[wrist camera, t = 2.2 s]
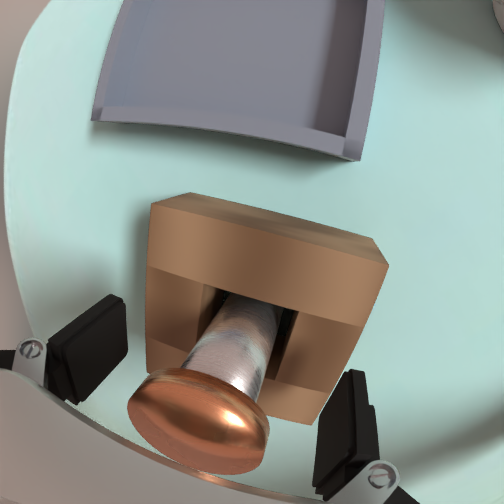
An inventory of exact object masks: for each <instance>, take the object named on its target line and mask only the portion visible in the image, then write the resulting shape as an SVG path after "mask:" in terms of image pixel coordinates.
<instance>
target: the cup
mask: <svg viewBox="0 0 504 504" xmlns="http://www.w3.org/2000/svg"><path fill="white" fill-rule="evenodd" d="M493 9H494V13H495V17H496V19H497V21H498V23H499V26H500V28H501V29H502V31H503V33H504V0H493Z"/></svg>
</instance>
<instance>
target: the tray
mask: <svg viewBox="0 0 504 504" xmlns="http://www.w3.org/2000/svg"><path fill="white" fill-rule="evenodd" d="M384 6H385V0H124V1H123V4H122V7H121V9H120V12H119V14H118V17H117V20H116V23H115V26H114V29H113V32H112V35H111V38H110V41H109V44H108V47H107V51H106V54H105V58H104V62H103V65H102V69H101V73H100V77H99V81H98V86H97V90H96V95H95V100H94V105H93V111H92V116H91V121H102V122H114V123H133V124H148V125H161V126H172V127H182V128H190V129H199V130H206V131H214V132H220V133H227V134H233V135H239V136H245V137H251V138H256V139H262V140H267V141H272V142H277V143H281V144H286V145H291V146H295V147H299V148H304V149H308V150H312V151H316V152H320V153H324V154H328V155H331V156H335V157H339V158H342V159H346V160H350V161H353V162H354V161H360V159H361V155H362V150H363V146H364V141H365V136H366V132H367V127H368V122H369V116H370V111H371V106H372V100H373V94H374V88H375V82H376V76H377V69H378V62H379V54H380V46H381V38H382V29H383V18H384Z"/></svg>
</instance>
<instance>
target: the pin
mask: <svg viewBox="0 0 504 504" xmlns="http://www.w3.org/2000/svg"><path fill="white" fill-rule="evenodd" d="M283 309H284V307H282V306H278V305H275V304H271V303H267V302H264V301H260V300H257V299H253V298H250V297H247V296H243V295H240V294H236V293H233V292H231V293H230V295H229V296H228V298H227V299H226V301H225V302H224V304H223V305H222V307H221V308H220V310H219V311H218V313H217V314H216V316H215V317H214V318H213V320H212V321H211V323H210V324H209V326H208V327H207V329H206V330H205V332H204V333H203V335H202V336H201V338H200V339H199V340H198V342H197V343H196V345H195V346H194V348H193V349H192V351H191V352H190V354H189V355H188V357H187V358H186V359H185V361H184V362H183V364H182V365H181V367H180V368H164V369H160V370H157V371H154V372H152V373H151V374H150V375H148V376H147V378H146V379H145V380H144V381H143V383H142V384H141V385H140V386H139V388H138V389H137V390H136V391H135V393H134V394H133V395H132V396H131V398H130V399H129V401H128V406H127V409H128V415H129V418H130V420H131V422H132V424H133V425H134V427H135V428H136V430H137V431H138V432H139V434H140V435H141V436H142V437H143V438H144V439H145V440H146V441H147V442H148V443H149V444H151V445H152V446H153V447H154V448H155V449H157V450H158V451H160V452H161V453H163V454H164V455H166V456H167V457H169V458H171V459H173V460H175V461H177V462H179V463H181V464H183V465H185V466H188V467H191V468H193V469H196V470H200V471H204V472H208V473H214V474H222V475H235V474H242V473H246V472H249V471H251V470H253V469H255V468H256V467H258V466H259V465H260V463H261V462H262V459H263V456H264V452H265V448H266V444H267V441H268V437H269V431H270V427H269V422H268V420H267V417H266V415H265V414H264V412H263V411H262V409H261V408H260V407H259V406H258V405H257V404H256V402H257V399H258V395H259V392H260V389H261V386H262V382H263V379H264V376H265V373H266V369H267V366H268V362H269V359H270V356H271V352H272V349H273V345H274V342H275V338H276V335H277V331H278V328H279V324H280V320H281V317H282V313H283Z"/></svg>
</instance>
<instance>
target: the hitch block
mask: <svg viewBox="0 0 504 504" xmlns="http://www.w3.org/2000/svg"><path fill="white" fill-rule="evenodd" d="M388 268H389V264H388V263H387V261H386V259H385V258H384V256H383V255H382V253H381V251H380V250H379V248H378V247H377V245H376V244H375V242H374V241H373V239H372V238H369V237H365V236H362V235H358V234H355V233H351V232H348V231H344V230H341V229H337V228H334V227H330V226H326V225H323V224H319V223H315V222H311V221H308V220H304V219H300V218H296V217H292V216H289V215H285V214H281V213H277V212H273V211H269V210H265V209H261V208H257V207H252V206H248V205H244V204H240V203H236V202H231V201H227V200H223V199H218V198H214V197H209V196H205V195H200V194H196V193H191V192H190V193H186V194H182V195H179V196H175V197H172V198H168V199H165V200H161V201H158V202H155V203H151V212H150V223H149V235H148V249H147V267H146V295H145V340H146V368H147V373H149V374H151V373H152V372H154V371H157V370H160V369H164V368H180V367H181V365H182V364H183V362H184V361H185V359H186V358H187V357H188V355H189V354H190V352H191V351H192V349H193V348H194V346H195V345H196V343H197V342H198V340H199V339H200V338H201V336H202V335H203V333H204V332H205V330H206V329H207V327H208V326H209V324H210V323H211V321H212V320H213V318H214V317H215V316H216V314H217V313H218V311H219V310H220V308H221V305H222V300H223V294H224V290H226V291H230V292H233V293H236V294H240V295H243V296H247V297H250V298H253V299H257V300H260V301H264V302H267V303H271V304H275V305H278V306H282V307H285V308H289V309H293V310H294V312H293V315H292V318H291V321H290V324H289V327H288V330H287V333H286V336H282V335H278V334H277V335H276V338H275V342H274V345H273V349H272V352H271V356H270V359H269V362H268V366H267V369H266V373H265V376H264V379H263V382H262V386H261V389H260V392H259V395H258V399H257V402H256V404H257V405H258V406H259V407H260V408H261V409H262V411H263V412H264V414H265V415H268V416H272V417H276V418H280V419H284V420H288V421H292V422H297V423H301V424H306V425H312V424H313V422H314V421H315V419H316V417H317V416H318V414H319V412H320V411H321V409H322V407H323V406H324V404H325V402H326V401H327V399H328V397H329V395H330V394H331V392H332V390H333V388H334V386H335V385H336V383H337V381H338V379H339V377H340V375H341V373H342V372H343V370H344V368H345V366H346V364H347V362H348V360H349V358H350V356H351V354H352V352H353V350H354V348H355V346H356V344H357V342H358V339H359V337H360V335H361V333H362V331H363V329H364V326H365V324H366V322H367V320H368V317H369V315H370V313H371V311H372V308H373V306H374V303H375V301H376V299H377V296H378V294H379V291H380V289H381V286H382V284H383V281H384V278H385V276H386V273H387V270H388Z"/></svg>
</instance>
